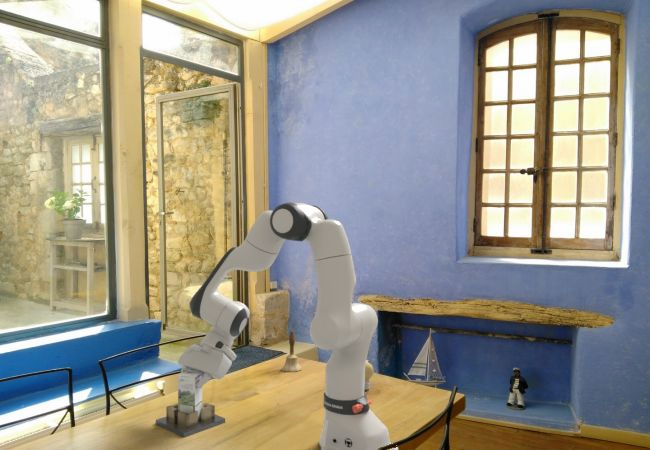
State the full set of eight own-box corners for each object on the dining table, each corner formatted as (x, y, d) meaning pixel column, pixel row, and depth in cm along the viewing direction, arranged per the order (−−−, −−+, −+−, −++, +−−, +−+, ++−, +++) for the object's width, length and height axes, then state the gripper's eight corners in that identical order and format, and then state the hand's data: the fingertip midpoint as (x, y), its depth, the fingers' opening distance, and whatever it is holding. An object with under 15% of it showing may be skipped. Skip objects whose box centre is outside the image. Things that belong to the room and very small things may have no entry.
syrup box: (203, 416, 166) (202, 370, 166) (195, 423, 161) (194, 375, 160) (186, 415, 167) (185, 369, 167) (177, 422, 162) (177, 374, 161)
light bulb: (372, 392, 194) (372, 365, 193) (355, 391, 195) (355, 364, 195) (374, 386, 200) (374, 360, 200) (357, 385, 201) (357, 359, 201)
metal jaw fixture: (225, 422, 165) (225, 405, 165) (184, 437, 154) (184, 419, 153) (196, 410, 175) (196, 394, 175) (155, 423, 163) (155, 407, 163)
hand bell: (280, 366, 226) (281, 329, 225) (300, 366, 227) (300, 328, 227) (282, 372, 217) (283, 333, 217) (302, 371, 219) (303, 333, 219)
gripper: (189, 336, 176) (163, 371, 168) (229, 346, 162) (202, 385, 155) (200, 347, 179) (175, 382, 172) (240, 357, 166) (214, 396, 158)
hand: (188, 384), depth 163 cm, fingers closed on syrup box, 7 cm apart
